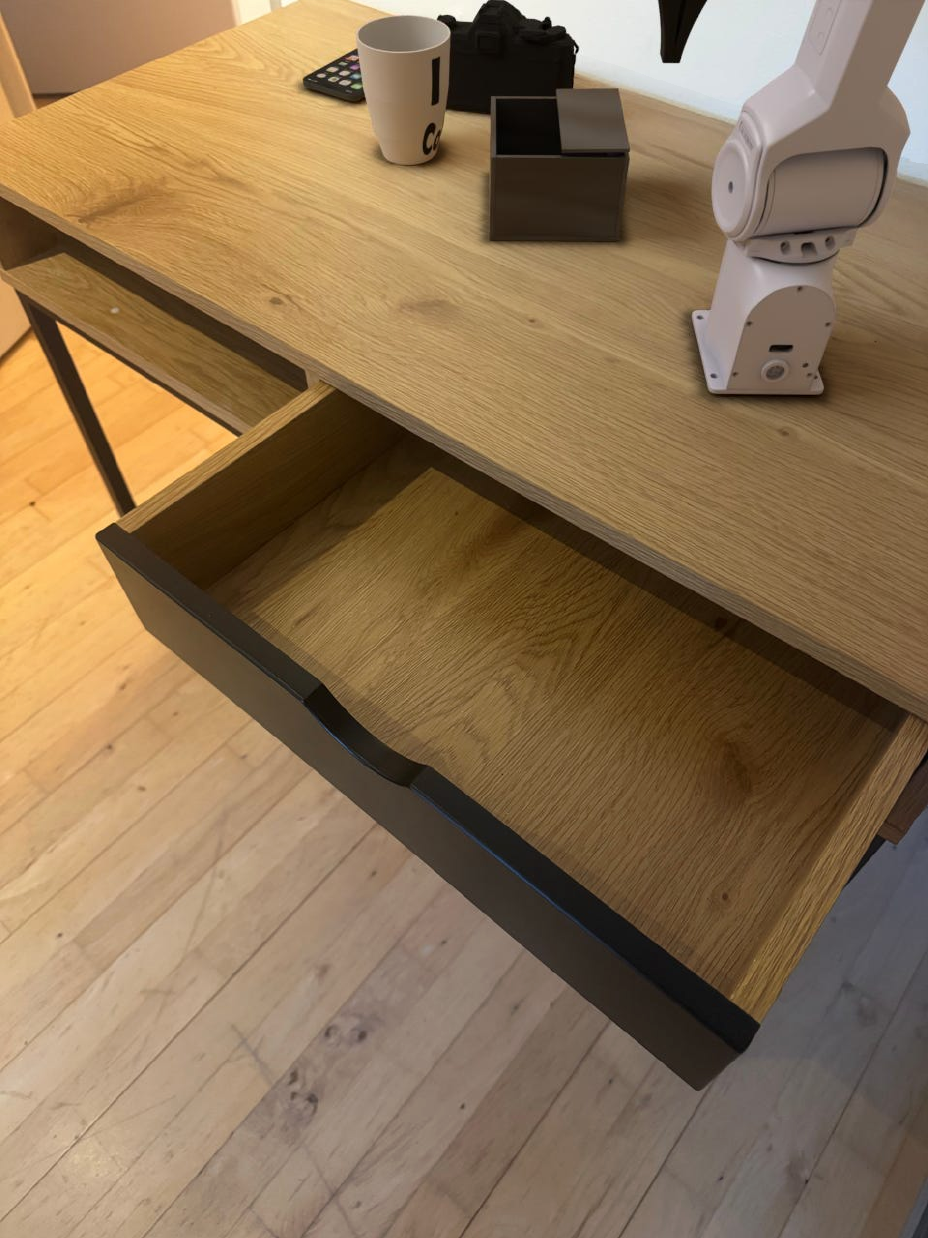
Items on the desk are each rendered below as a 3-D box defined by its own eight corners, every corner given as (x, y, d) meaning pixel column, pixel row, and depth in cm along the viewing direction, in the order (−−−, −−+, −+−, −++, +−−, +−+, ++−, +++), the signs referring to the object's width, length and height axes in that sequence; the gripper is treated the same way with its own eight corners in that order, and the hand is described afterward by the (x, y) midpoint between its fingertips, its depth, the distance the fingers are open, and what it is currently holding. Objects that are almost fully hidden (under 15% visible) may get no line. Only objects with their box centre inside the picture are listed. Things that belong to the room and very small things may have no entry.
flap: (555, 92, 77) (556, 88, 76) (617, 91, 76) (618, 87, 76) (561, 152, 70) (562, 148, 70) (629, 152, 70) (630, 148, 70)
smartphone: (439, 46, 98) (355, 96, 91) (440, 53, 99) (355, 103, 91) (385, 32, 101) (298, 79, 93) (385, 38, 101) (299, 86, 94)
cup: (441, 176, 82) (439, 55, 74) (356, 168, 83) (344, 48, 75) (459, 135, 87) (459, 18, 79) (378, 128, 88) (369, 11, 80)
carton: (489, 176, 82) (491, 95, 77) (608, 177, 82) (618, 96, 77) (489, 240, 76) (491, 156, 70) (618, 241, 76) (630, 157, 70)
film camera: (585, 84, 94) (595, -17, 87) (566, 126, 88) (575, 21, 81) (445, 68, 97) (443, -31, 89) (418, 108, 91) (414, 5, 84)
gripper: (798, -175, 65) (751, 38, 75) (595, -175, 65) (577, 37, 76) (820, -147, 60) (766, 74, 71) (603, -148, 61) (582, 73, 71)
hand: (669, 58), depth 73 cm, fingers closed
